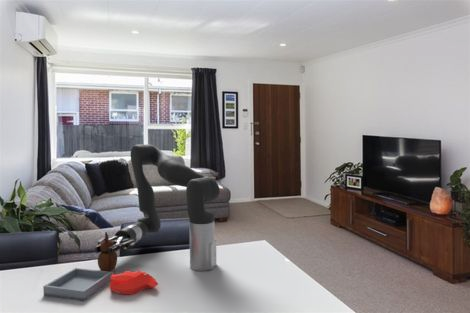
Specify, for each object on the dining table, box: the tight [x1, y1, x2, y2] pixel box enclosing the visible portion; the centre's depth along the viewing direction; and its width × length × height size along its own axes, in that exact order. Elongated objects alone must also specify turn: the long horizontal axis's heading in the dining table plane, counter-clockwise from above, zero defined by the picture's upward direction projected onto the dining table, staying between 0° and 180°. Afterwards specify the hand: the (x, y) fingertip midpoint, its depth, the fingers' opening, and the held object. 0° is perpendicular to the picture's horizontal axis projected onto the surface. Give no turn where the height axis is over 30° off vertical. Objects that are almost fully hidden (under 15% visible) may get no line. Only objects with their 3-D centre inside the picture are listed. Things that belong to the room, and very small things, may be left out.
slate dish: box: [42, 267, 113, 302], centre depth 114 cm, size 15×15×3 cm
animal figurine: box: [109, 270, 159, 295], centre depth 113 cm, size 12×15×5 cm
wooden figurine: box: [97, 231, 118, 272], centre depth 126 cm, size 7×6×15 cm
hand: (102, 250), depth 124 cm, fingers closed on wooden figurine, 4 cm apart
